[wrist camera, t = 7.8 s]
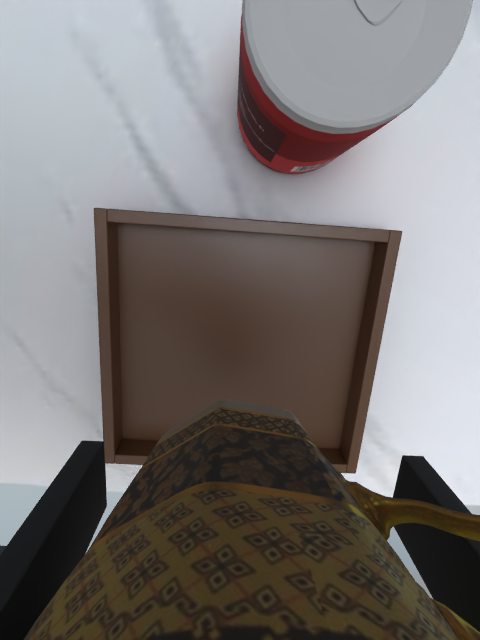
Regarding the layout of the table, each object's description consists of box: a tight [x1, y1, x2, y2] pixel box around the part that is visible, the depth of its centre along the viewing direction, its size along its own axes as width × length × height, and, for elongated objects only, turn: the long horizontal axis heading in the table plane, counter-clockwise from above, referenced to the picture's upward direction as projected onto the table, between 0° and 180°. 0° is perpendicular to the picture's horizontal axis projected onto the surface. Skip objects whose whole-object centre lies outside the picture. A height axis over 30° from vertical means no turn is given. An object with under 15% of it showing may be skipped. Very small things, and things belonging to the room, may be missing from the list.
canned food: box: [237, 0, 473, 174], centre depth 16 cm, size 8×8×11 cm
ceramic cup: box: [24, 399, 480, 640], centre depth 9 cm, size 13×10×10 cm
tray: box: [94, 208, 402, 473], centre depth 25 cm, size 20×19×2 cm
